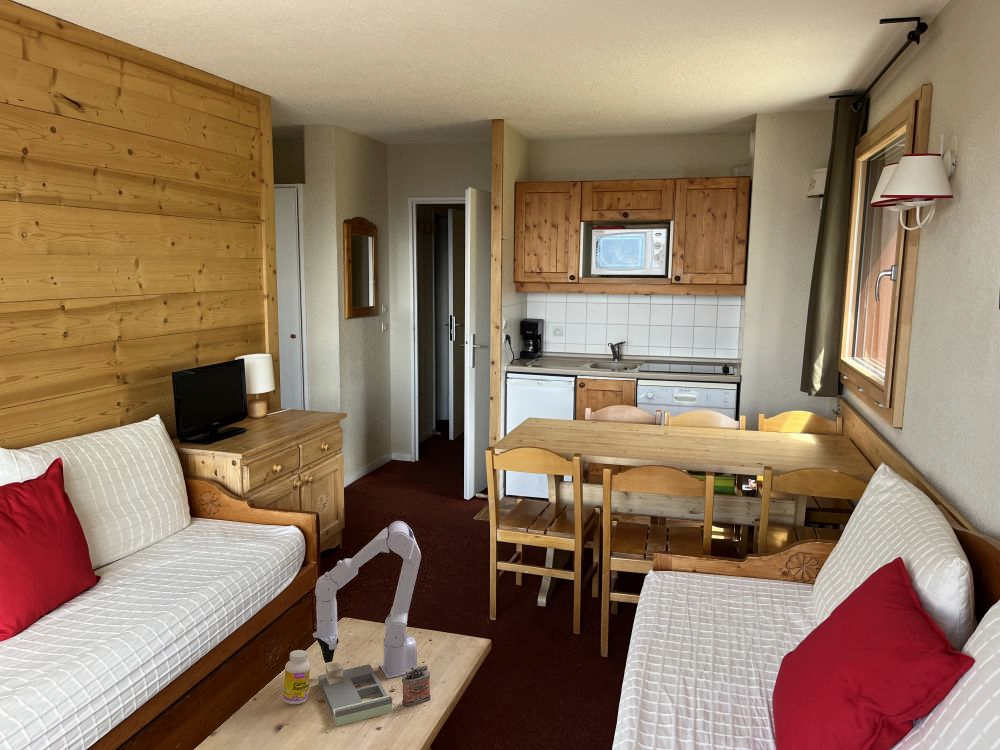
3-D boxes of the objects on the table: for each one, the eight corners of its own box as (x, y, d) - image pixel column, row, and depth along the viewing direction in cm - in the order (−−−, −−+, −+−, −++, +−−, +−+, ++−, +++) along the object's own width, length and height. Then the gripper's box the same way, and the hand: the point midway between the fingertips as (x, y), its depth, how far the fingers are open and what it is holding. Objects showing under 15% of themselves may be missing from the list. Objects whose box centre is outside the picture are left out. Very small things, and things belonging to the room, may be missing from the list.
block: (339, 674, 216) (339, 661, 215) (343, 681, 212) (342, 668, 212) (325, 677, 214) (325, 664, 214) (329, 684, 211) (328, 671, 210)
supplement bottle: (289, 707, 202) (293, 660, 202) (278, 697, 207) (281, 651, 207) (312, 701, 207) (315, 654, 207) (300, 691, 212) (303, 646, 211)
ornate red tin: (404, 708, 204) (404, 674, 202) (400, 702, 207) (399, 668, 205) (432, 700, 208) (432, 666, 206) (427, 694, 210) (427, 660, 209)
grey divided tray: (369, 671, 222) (369, 659, 221) (392, 712, 202) (392, 698, 202) (318, 683, 216) (318, 670, 215) (336, 726, 196) (336, 712, 195)
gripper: (307, 609, 222) (309, 652, 224) (318, 631, 209) (319, 676, 211) (331, 605, 225) (332, 647, 227) (343, 626, 212) (344, 671, 214)
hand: (328, 661), depth 220 cm, fingers closed
